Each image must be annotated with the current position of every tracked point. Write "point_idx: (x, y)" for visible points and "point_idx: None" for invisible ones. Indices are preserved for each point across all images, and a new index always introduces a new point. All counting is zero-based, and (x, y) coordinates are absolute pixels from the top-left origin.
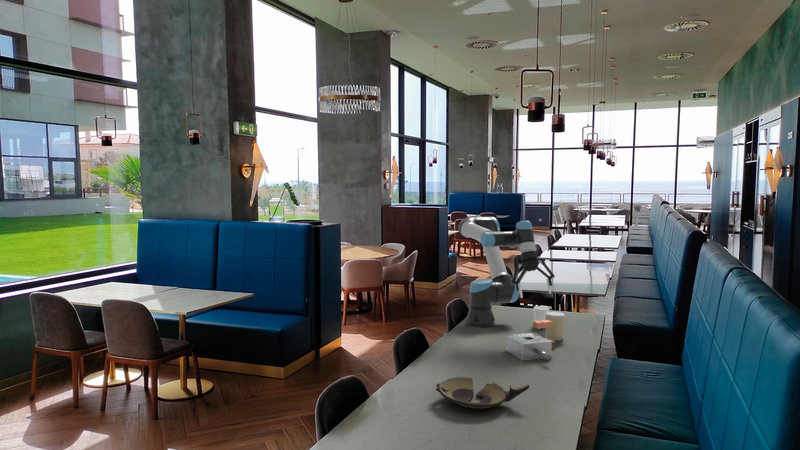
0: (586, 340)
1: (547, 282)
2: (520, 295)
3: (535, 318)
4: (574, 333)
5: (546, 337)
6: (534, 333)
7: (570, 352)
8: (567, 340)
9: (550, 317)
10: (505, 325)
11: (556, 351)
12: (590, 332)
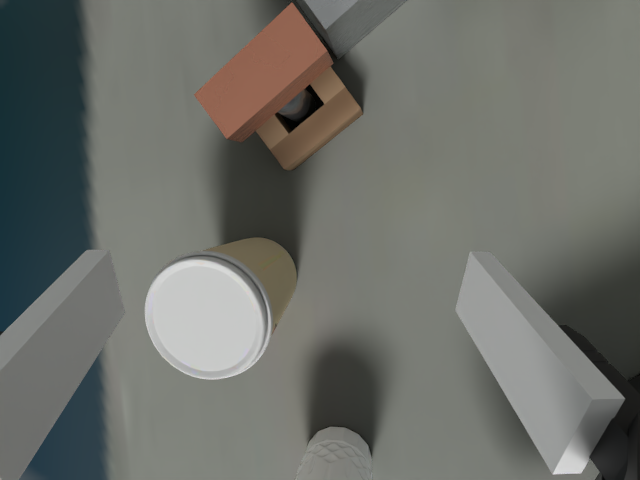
0: (129, 280)
1: (4, 356)
2: (492, 264)
3: (363, 472)
4: (185, 376)
5: (277, 158)
6: (322, 11)
7: (169, 58)
8: None
9: (232, 257)
10: (527, 436)
11: (229, 46)
12: (127, 409)
